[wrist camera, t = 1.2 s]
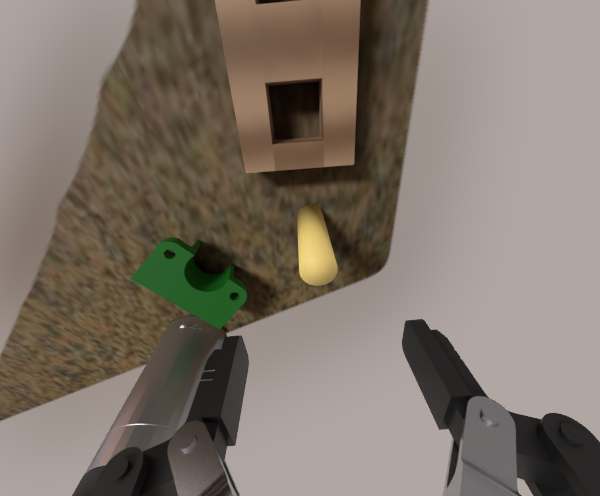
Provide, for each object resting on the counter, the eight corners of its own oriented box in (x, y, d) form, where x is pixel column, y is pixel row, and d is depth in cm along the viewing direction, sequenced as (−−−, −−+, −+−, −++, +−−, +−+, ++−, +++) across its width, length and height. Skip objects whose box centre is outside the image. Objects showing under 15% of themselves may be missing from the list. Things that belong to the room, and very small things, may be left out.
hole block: (346, 157, 25) (354, 164, 22) (251, 165, 26) (245, 173, 22) (353, -123, 16) (367, -176, 13) (205, -110, 16) (186, -158, 13)
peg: (318, 230, 30) (330, 288, 20) (294, 224, 29) (295, 281, 20) (326, 207, 28) (343, 259, 19) (301, 200, 28) (305, 250, 18)
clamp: (240, 256, 36) (262, 298, 30) (215, 285, 37) (230, 332, 31) (162, 215, 28) (169, 261, 22) (131, 253, 29) (129, 308, 22)
